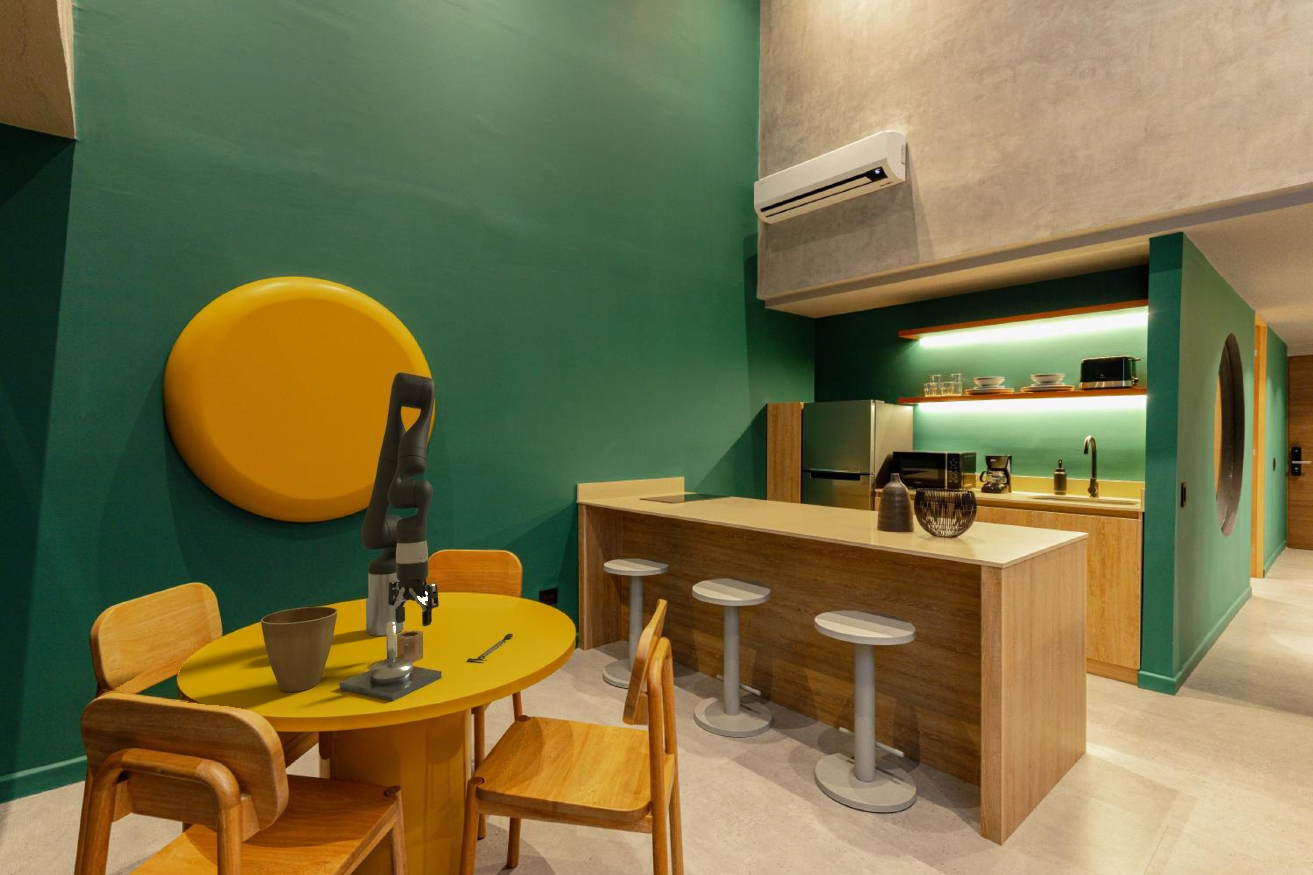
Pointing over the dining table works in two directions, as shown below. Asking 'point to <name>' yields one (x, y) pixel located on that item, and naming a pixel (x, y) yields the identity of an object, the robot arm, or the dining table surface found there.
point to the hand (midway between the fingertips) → (413, 623)
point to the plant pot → (299, 645)
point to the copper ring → (410, 645)
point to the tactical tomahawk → (490, 649)
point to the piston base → (390, 688)
